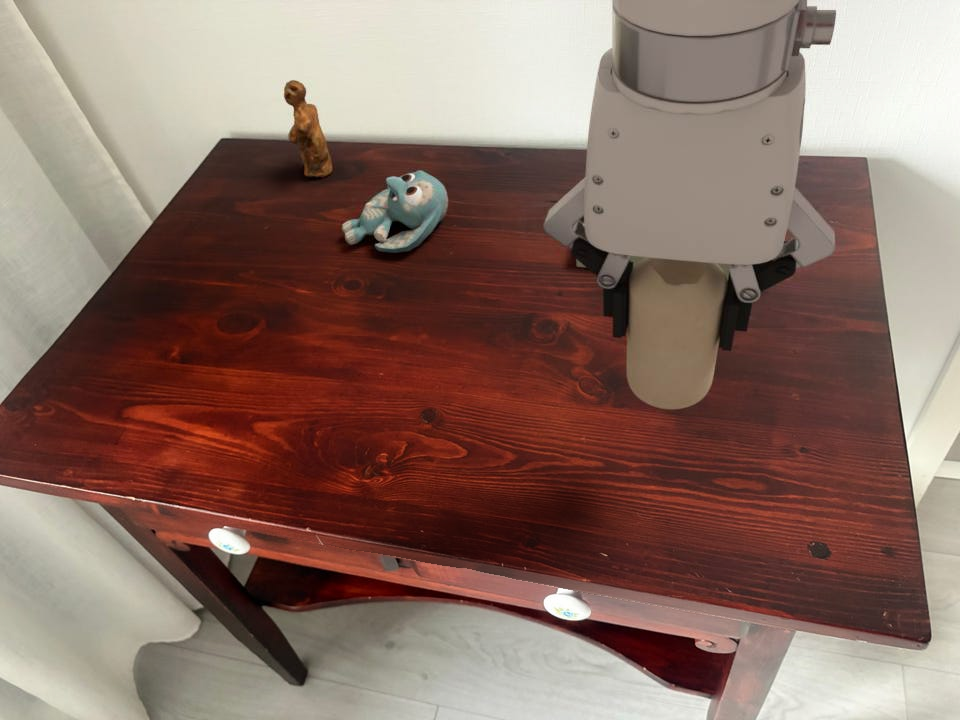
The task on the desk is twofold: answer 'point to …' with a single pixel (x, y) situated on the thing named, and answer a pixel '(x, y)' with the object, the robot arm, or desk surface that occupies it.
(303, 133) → the figurine
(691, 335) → the candle
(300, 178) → the desk surface
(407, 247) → the stuffed animal
